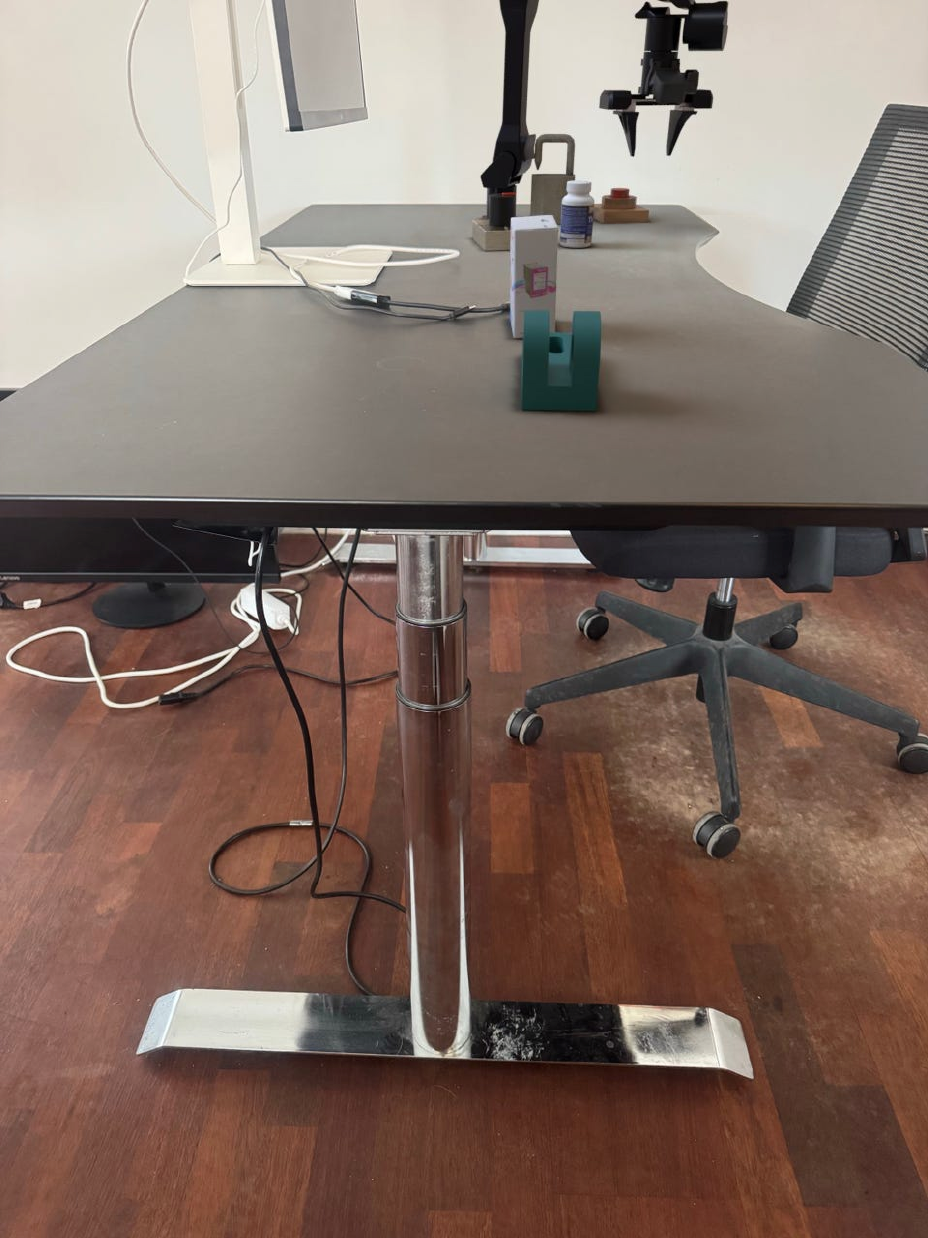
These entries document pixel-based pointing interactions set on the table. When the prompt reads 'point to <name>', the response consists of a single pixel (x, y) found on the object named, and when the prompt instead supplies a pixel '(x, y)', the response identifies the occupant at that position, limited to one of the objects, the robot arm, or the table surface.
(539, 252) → the ink box
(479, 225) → the beige flat rectangular block
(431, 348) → the table surface
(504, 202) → the knob
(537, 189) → the padlock
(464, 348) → the table surface
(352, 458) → the table surface
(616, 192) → the button
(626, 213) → the wooden button base
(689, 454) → the table surface
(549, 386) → the bracket
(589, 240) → the pill bottle
